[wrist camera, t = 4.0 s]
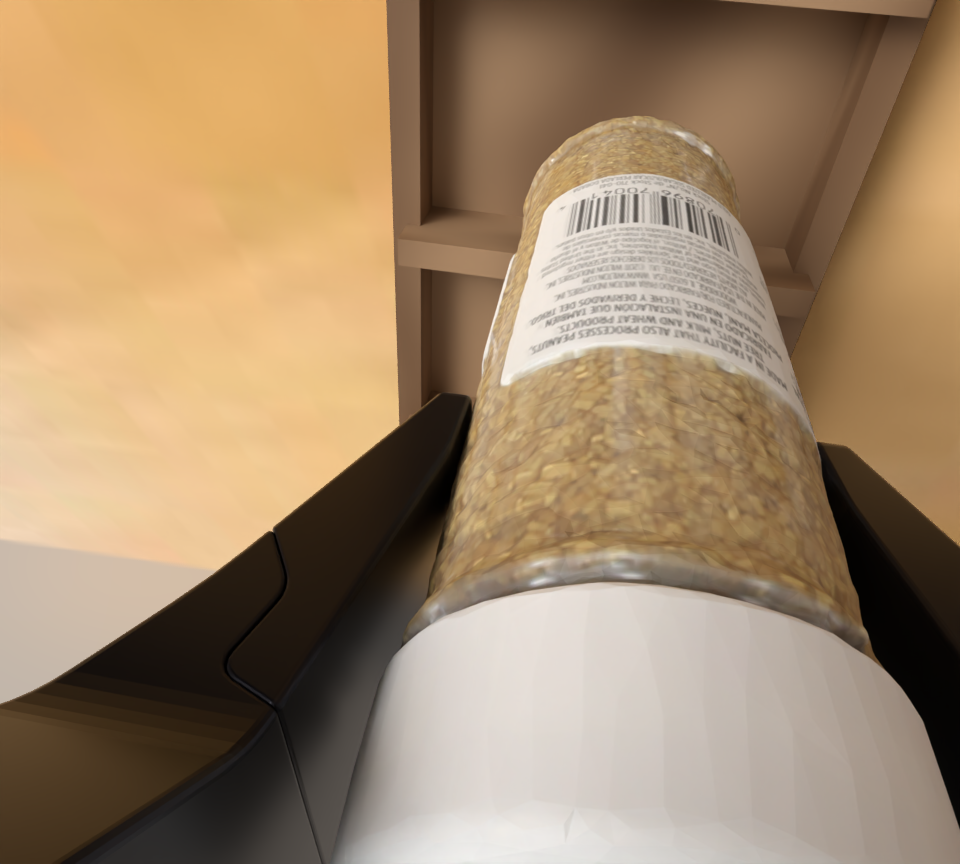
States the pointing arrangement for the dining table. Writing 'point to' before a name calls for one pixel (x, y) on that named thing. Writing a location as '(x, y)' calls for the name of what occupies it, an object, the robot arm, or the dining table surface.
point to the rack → (619, 94)
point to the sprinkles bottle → (640, 570)
